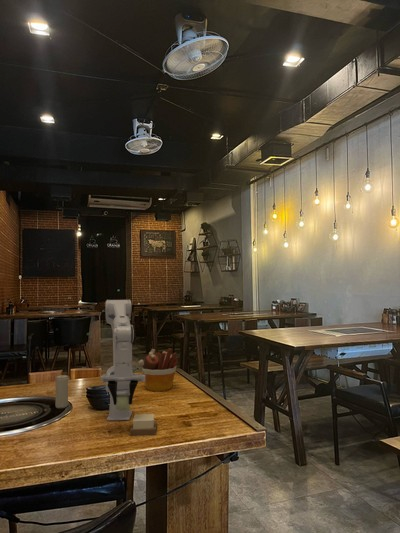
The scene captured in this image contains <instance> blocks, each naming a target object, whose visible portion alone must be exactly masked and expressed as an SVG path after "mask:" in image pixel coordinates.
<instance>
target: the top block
mask: <svg viewBox="0 0 400 533" xmlns="http://www.w3.org/2000/svg"><path fill="white" fill-rule="evenodd" d="M154 421H155V413H147V414H146V413H145V414H134V416H133V420H132V424H133V429H147V428H154Z"/></svg>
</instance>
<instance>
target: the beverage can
mask: <svg viewBox="0 0 400 533" xmlns="http://www.w3.org/2000/svg"><path fill="white" fill-rule="evenodd" d="M54 399H55V408H56V409H64V408H67V407H68V405H69V375H66V374H63V375H57V376H56V377H55V398H54Z"/></svg>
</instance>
